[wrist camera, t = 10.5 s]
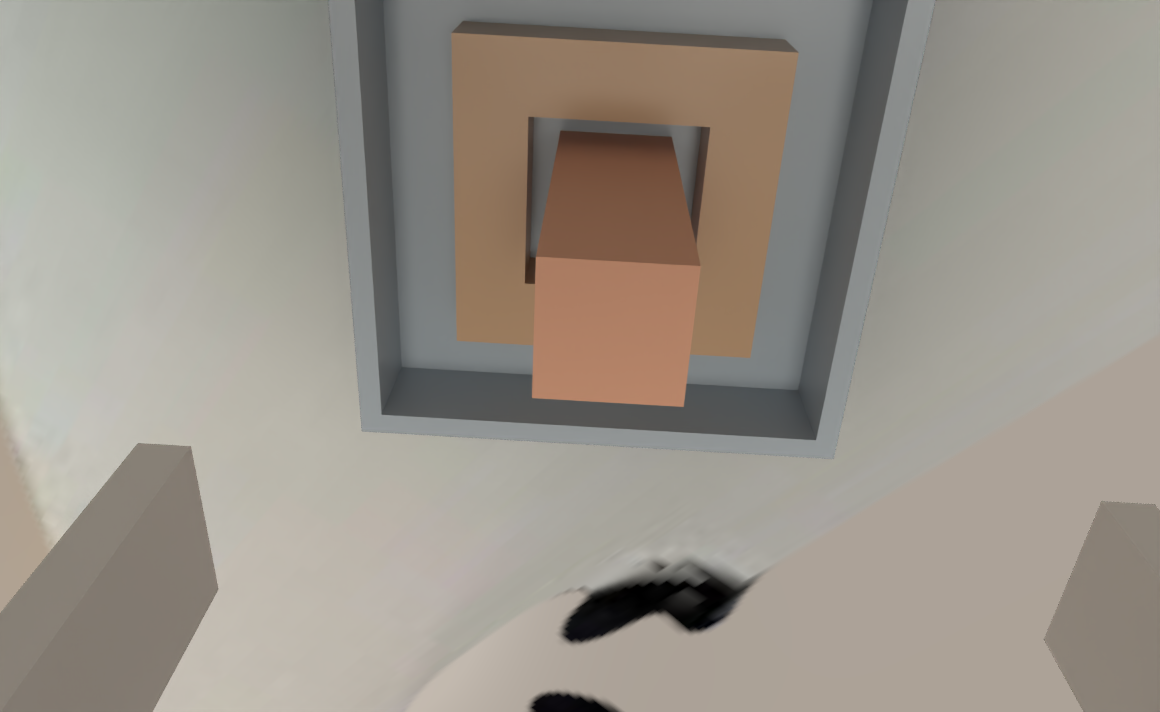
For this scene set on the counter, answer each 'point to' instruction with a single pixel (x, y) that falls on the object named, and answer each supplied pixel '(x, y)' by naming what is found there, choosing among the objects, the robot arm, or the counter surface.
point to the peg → (615, 274)
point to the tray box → (709, 177)
